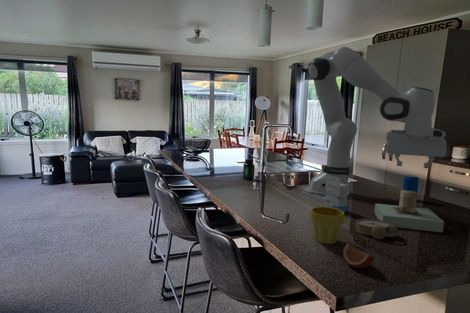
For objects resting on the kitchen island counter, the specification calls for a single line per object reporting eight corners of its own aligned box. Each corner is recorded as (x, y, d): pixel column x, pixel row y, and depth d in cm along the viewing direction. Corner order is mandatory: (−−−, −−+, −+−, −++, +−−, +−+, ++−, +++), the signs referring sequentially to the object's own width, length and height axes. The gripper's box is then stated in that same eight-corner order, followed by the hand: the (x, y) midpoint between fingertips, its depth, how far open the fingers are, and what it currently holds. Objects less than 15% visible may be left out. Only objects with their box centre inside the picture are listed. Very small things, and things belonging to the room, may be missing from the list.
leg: (400, 222, 119) (403, 192, 118) (397, 219, 124) (400, 189, 122) (413, 224, 118) (417, 193, 116) (410, 220, 123) (413, 190, 121)
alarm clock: (372, 217, 116) (407, 224, 102) (372, 230, 116) (408, 239, 102) (348, 220, 112) (381, 227, 98) (348, 234, 112) (382, 243, 98)
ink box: (346, 212, 130) (349, 178, 128) (338, 213, 128) (340, 178, 126) (332, 206, 138) (335, 174, 136) (323, 207, 136) (326, 174, 134)
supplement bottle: (246, 180, 185) (247, 160, 183) (241, 178, 191) (241, 158, 189) (256, 179, 188) (257, 160, 187) (250, 177, 194) (251, 158, 193)
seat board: (382, 225, 116) (383, 214, 115) (374, 212, 131) (375, 202, 130) (442, 232, 111) (444, 220, 110) (427, 218, 126) (428, 208, 125)
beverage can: (418, 201, 151) (421, 177, 149) (404, 200, 152) (406, 176, 150) (413, 198, 157) (416, 174, 155) (399, 197, 158) (402, 174, 157)
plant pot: (304, 233, 105) (306, 205, 104) (334, 233, 106) (336, 206, 105) (315, 246, 95) (317, 216, 94) (347, 246, 96) (350, 216, 94)
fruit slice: (337, 260, 87) (338, 243, 86) (356, 256, 89) (357, 240, 89) (358, 275, 79) (360, 256, 78) (378, 271, 82) (380, 253, 81)
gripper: (389, 129, 117) (385, 166, 119) (450, 133, 112) (445, 170, 114) (385, 129, 123) (381, 163, 125) (443, 132, 118) (438, 167, 120)
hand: (412, 167), depth 119 cm, fingers open, 8 cm apart
